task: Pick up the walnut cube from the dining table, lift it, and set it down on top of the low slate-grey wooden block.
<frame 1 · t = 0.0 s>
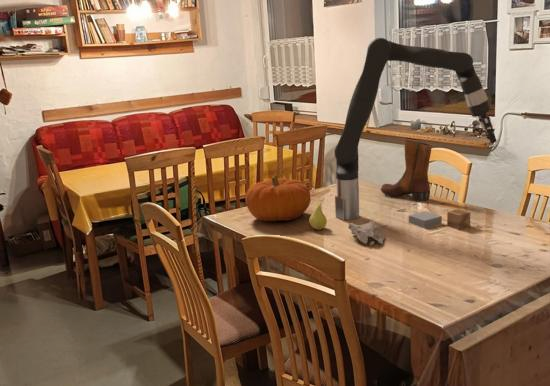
hand: (492, 140, 215), 31 cm above the table, tool tilted 20°, fingers open, 8 cm apart
walnut cube: (458, 226, 215), on the table
slate block: (425, 224, 222), on the table
pumpkin: (279, 218, 241), on the table
boot: (405, 197, 259), on the table
fruit: (319, 229, 224), on the table
stone: (366, 239, 209), on the table
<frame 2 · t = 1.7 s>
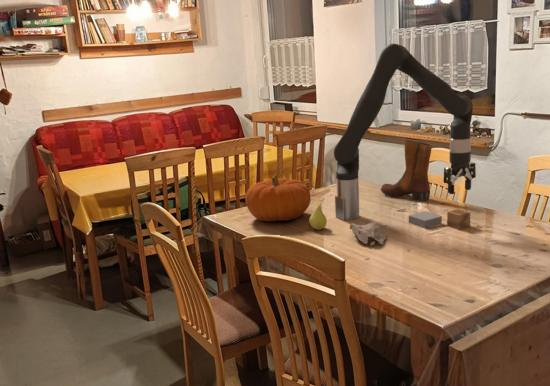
hand: (459, 191, 212), 14 cm above the table, tool pointing down, fingers open, 8 cm apart
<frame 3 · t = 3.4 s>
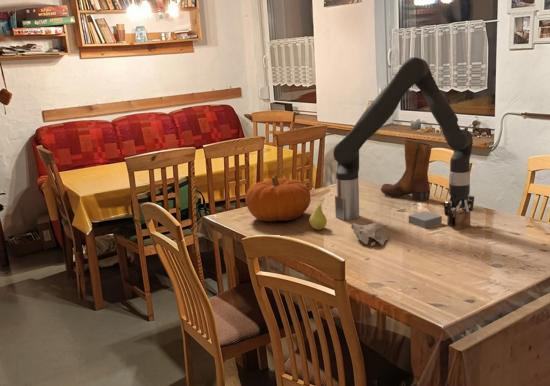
hand: (458, 224, 215), 1 cm above the table, tool pointing down, fingers closed on walnut cube, 6 cm apart
walnut cube: (458, 226, 215), on the table, touching gripper
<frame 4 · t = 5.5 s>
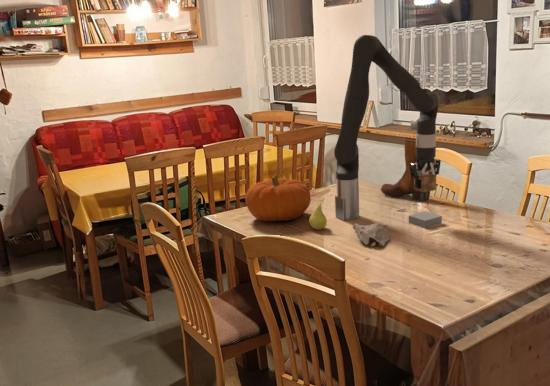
hand: (424, 186, 218), 15 cm above the table, tool pointing down, fingers closed on walnut cube, 6 cm apart
walnut cube: (424, 189, 218), point 14 cm above the table, touching gripper
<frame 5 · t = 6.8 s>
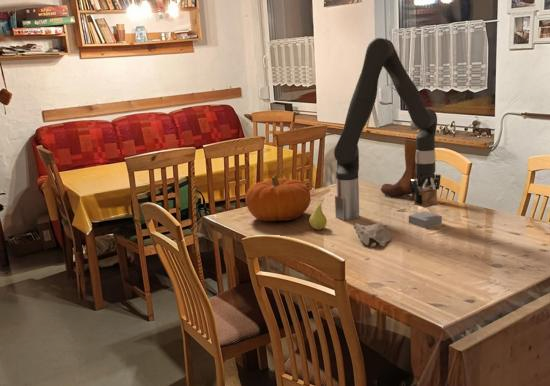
hand: (425, 202, 220), 9 cm above the table, tool pointing down, fingers closed on walnut cube, 6 cm apart
walnut cube: (425, 204, 220), point 8 cm above the table, touching gripper
when the fingers open (6 cm above the table, at t = 7.9 s): walnut cube drops 1 cm, resting on slate block.
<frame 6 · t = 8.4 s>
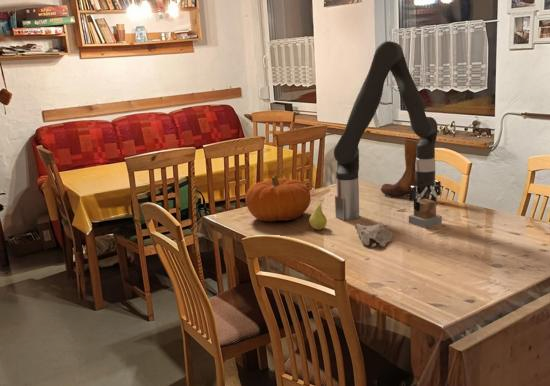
hand: (425, 208, 220), 6 cm above the table, tool pointing down, fingers open, 8 cm apart
walnut cube: (424, 215, 221), point 3 cm above the table, touching slate block
slate block: (425, 224, 222), on the table, touching walnut cube
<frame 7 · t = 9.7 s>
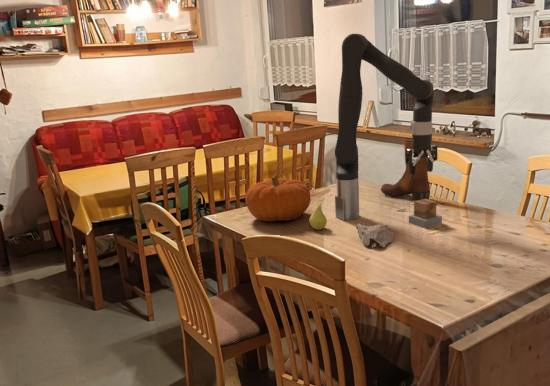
hand: (421, 173, 220), 20 cm above the table, tool pointing down, fingers open, 8 cm apart
walnut cube: (424, 215, 221), point 3 cm above the table
slate block: (425, 224, 222), on the table
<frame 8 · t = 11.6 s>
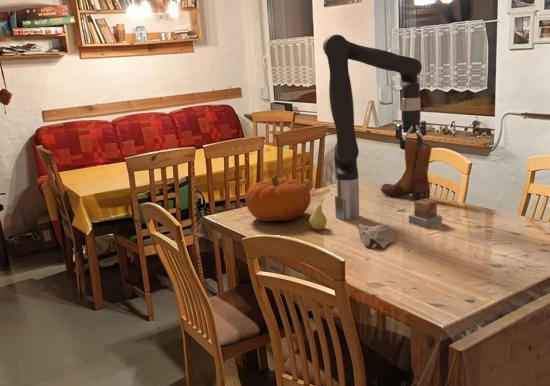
hand: (411, 147, 229), 28 cm above the table, tool pointing down, fingers open, 8 cm apart
at the end: walnut cube inside the target area on the slate block (0.3 cm from its centre), point 3.5 cm above the slate block's base; the gripper is holding nothing; walnut cube tilted 0° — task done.
